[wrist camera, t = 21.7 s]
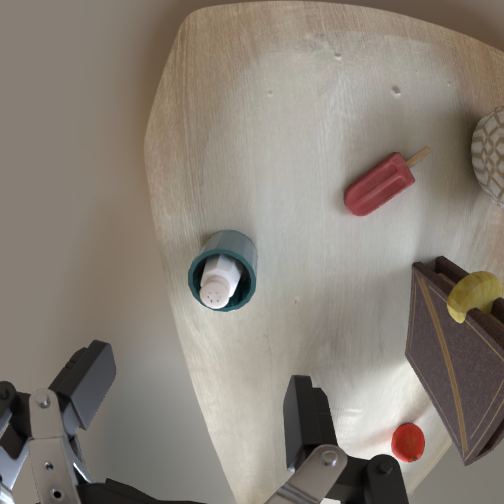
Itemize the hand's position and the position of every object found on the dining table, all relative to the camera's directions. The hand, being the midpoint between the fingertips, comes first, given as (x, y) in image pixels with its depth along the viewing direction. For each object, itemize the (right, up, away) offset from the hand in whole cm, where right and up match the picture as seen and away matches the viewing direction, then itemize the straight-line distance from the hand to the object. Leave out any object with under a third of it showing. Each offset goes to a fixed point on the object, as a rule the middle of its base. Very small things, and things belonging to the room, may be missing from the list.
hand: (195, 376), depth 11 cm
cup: (-1, +5, +26) cm, 26 cm away
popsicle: (+20, +15, +22) cm, 33 cm away
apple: (+39, -37, +39) cm, 66 cm away
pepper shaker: (-1, +5, +25) cm, 26 cm away
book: (+31, -3, +28) cm, 41 cm away
